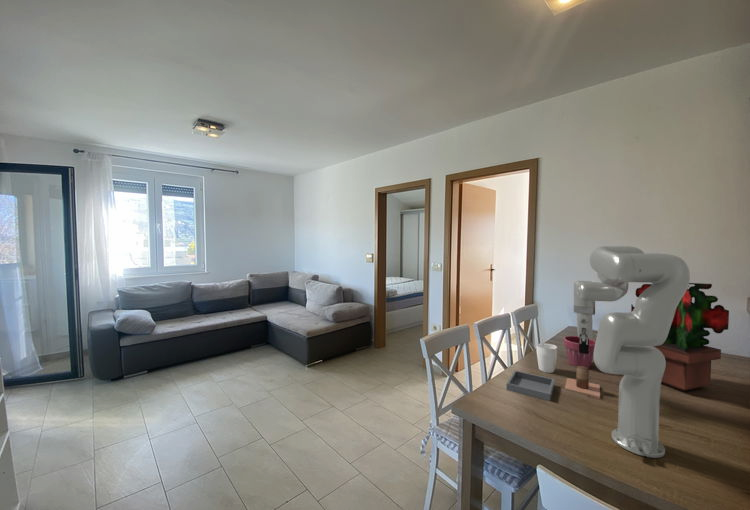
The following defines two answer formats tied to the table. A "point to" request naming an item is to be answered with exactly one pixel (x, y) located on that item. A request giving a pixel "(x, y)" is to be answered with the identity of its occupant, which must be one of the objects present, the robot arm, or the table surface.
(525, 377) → the bin
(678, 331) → the potted plant
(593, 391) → the terracotta board
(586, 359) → the plant pot
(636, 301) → the robot arm
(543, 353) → the cup
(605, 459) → the table surface
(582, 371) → the walnut peg
